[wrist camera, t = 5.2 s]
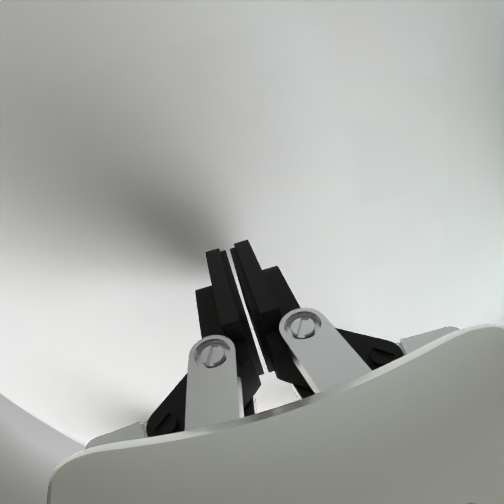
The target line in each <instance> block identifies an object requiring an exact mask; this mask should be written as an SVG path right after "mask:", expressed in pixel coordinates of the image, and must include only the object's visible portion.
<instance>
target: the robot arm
mask: <svg viewBox="0 0 504 504" xmlns="http://www.w3.org/2000/svg"><path fill="white" fill-rule="evenodd" d="M234 246H235V247H234V248H231V249H230V252H231V255H232V259H233V262H234V266H235V269H236V273H237V276H238V280H239V283H240V287H241V290H242V294H243V297H244V301H245V304H246V307H247V310H248V313H249V316H250V319H251V322H252V325H253V328H254V331H255V334H256V337H257V340H258V342H259V345H260V348H261V351H262V354H263V357H264V360H265V363H266V366H267V369H268V371H269V372H272V371H275V374H276V376H277V378H279V379H280V380H283V381H286V382H289V383H290V385H291V387H292V389H293V391H294V392H295V394H296V396H297V397H298V399H299V400H298V401H295V402H292V403H289V404H286V405H283V406H280V407H277V408H274V409H270V410H267V411H264V412H260V413H257V407H256V399H255V396H254V394H255V393H256V391H257V390H258V388H259V387H260V385H261V382H260V379H259V375H262V374H264V372H263V368H262V365H261V362H260V359H259V356H258V352H257V349H256V346H255V343H254V340H253V336H252V333H251V330H250V327H249V323H248V320H247V317H246V314H245V311H244V307H243V304H242V301H241V298H240V295H239V292H238V289H237V286H236V282H235V279H234V276H233V273H232V270H231V267H230V263H229V260H228V257H227V254H226V251H225V250H224V251H221V252H220V250H219V248H218V249H215V250H211V251H208V252H205V253H206V258H207V263H208V268H209V273H210V278H211V283H212V286H208V287H205V288H202V289H198V290H196V291H195V292H196V301H197V308H198V315H199V322H200V329H201V336H202V339H201V340H199V341H198V342H197V343H196V344H194V346H193V347H192V349H191V350H190V353H189V360H188V373H187V374H186V375H185V376H184V378H183V379H182V380H181V381H180V382H179V384H178V385H177V386H176V387H175V388H174V389H173V391H172V392H171V393H170V394H169V395H168V396H167V398H166V399H165V400H164V401H163V402H162V403H161V405H160V406H159V407H158V408H157V409H156V410H155V412H154V413H153V414H152V415H151V417H150V418H149V420H148V422H146V423H143V424H142V423H141V422H138V423H135V424H133V425H130V426H127V427H125V428H122V429H119V430H116V431H114V432H111V433H108V434H105V435H102V436H99V437H96V438H94V439H93V440H91V441H90V442H89V443H88V444H87V446H86V449H85V450H83V451H80V452H78V453H76V454H73V455H71V456H69V457H67V458H66V459H65V460H63V461H62V462H61V463H59V464H58V465H57V466H56V468H55V469H54V470H53V472H52V475H51V478H50V481H49V486H48V493H47V504H504V327H502V326H499V325H491V324H486V325H477V326H471V327H467V328H463V329H458V328H456V327H444V328H441V329H437V330H434V331H430V332H427V333H423V334H419V335H416V336H412V337H408V338H404V339H400V343H396V344H395V343H393V342H390V341H388V340H383V339H379V338H375V337H370V336H366V335H362V334H358V333H353V332H349V331H345V330H341V329H337V328H334V327H333V325H332V324H331V323H330V322H329V321H328V320H327V319H326V318H325V316H324V315H323V314H321V313H320V312H319V311H317V310H314V309H311V308H300V306H299V304H298V302H297V301H296V299H295V297H294V295H293V293H292V291H291V290H290V288H289V286H288V284H287V282H286V280H285V279H284V277H283V275H282V273H281V271H280V269H279V268H278V266H275V267H271V268H268V269H265V270H262V269H261V267H260V265H259V263H258V261H257V259H256V256H255V254H254V252H253V250H252V248H251V246H250V243H249V241H248V240H245V241H242V242H238V243H235V244H234Z"/></svg>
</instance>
